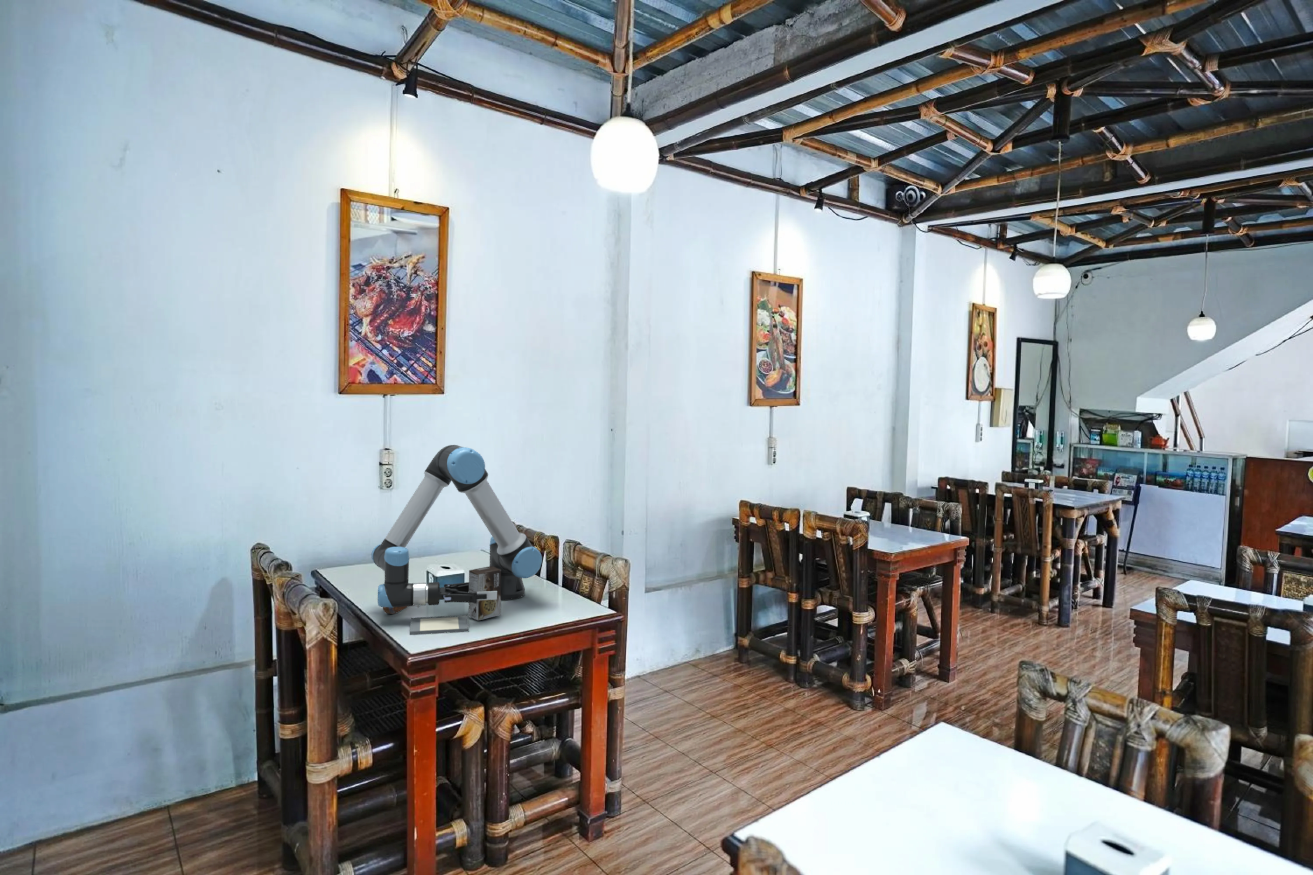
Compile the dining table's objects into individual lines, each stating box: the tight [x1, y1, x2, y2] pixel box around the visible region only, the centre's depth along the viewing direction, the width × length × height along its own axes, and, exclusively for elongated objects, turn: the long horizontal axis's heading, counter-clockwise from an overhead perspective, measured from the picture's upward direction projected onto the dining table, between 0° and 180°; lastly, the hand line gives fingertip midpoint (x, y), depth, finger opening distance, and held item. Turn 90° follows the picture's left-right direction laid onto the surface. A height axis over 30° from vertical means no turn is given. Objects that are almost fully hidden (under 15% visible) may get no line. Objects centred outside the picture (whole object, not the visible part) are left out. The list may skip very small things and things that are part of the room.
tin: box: [382, 606, 408, 615], centre depth 259 cm, size 15×3×8 cm, turn 168°
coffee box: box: [468, 565, 502, 621], centre depth 254 cm, size 9×6×16 cm
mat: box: [409, 614, 470, 636], centre depth 244 cm, size 18×14×1 cm
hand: (495, 590), depth 255 cm, fingers closed on coffee box, 9 cm apart
